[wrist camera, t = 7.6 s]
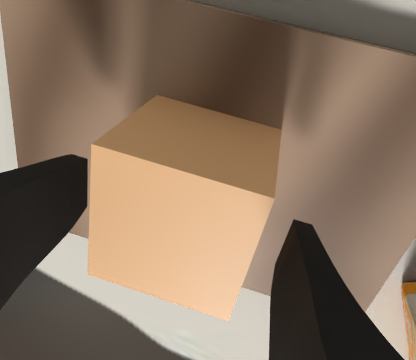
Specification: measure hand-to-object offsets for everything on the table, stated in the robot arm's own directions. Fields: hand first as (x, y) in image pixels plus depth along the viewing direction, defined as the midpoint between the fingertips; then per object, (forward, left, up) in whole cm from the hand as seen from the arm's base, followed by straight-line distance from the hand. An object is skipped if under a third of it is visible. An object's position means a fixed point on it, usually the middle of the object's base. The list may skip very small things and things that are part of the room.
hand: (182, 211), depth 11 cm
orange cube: (0, 0, -3) cm, 3 cm away
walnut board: (0, 0, -4) cm, 4 cm away
